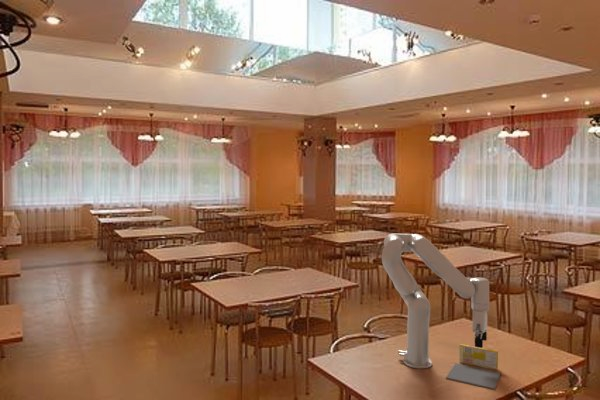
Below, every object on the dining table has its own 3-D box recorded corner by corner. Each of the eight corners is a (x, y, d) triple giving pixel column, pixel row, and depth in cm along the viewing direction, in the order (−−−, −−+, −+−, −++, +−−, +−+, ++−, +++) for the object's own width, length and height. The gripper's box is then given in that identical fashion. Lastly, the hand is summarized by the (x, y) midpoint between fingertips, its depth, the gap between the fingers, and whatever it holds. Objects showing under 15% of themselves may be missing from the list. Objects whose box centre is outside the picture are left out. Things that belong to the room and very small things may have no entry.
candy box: (498, 369, 206) (498, 350, 205) (497, 370, 204) (497, 352, 203) (460, 361, 214) (460, 343, 214) (459, 362, 212) (459, 344, 212)
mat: (445, 378, 195) (445, 377, 195) (455, 364, 210) (455, 363, 210) (494, 389, 185) (494, 388, 185) (500, 374, 200) (500, 372, 200)
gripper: (475, 300, 217) (475, 336, 218) (467, 309, 202) (468, 348, 203) (492, 301, 213) (492, 338, 214) (485, 312, 198) (486, 351, 199)
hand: (480, 343), depth 208 cm, fingers open, 9 cm apart
